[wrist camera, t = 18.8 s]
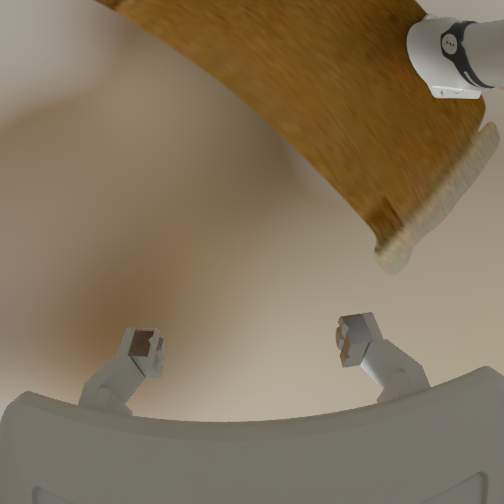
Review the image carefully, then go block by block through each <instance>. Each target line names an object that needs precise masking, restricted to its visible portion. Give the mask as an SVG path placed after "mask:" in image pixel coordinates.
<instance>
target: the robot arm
mask: <svg viewBox="0 0 504 504" xmlns="http://www.w3.org/2000/svg"><path fill="white" fill-rule="evenodd" d="M407 50H408V54H409V58H410V60H411V63H412V65H413V67H414V68H415V70H416V71H417V73H418V74H419V75H420V77H421V78H422V79H423V80H424V81H425V82H426V83H427V85H428V87H429V89H430V91H431V93H432V95H433V96H434V97H435V98H470V99H478V98H479V97H480V95H481V91H485V92H488V91H489V90H490V88H494V87H498V88H500V89H503V90H504V20H500V21H493V22H484V23H477V22H474V21H461V22H460V21H459V20H457V19H456V18H454V17H444V18H438V17H436V16H434V15H433V14H426V15H425V17H424V18H423V20H422V21H420V22H418V23H416V24H414V25H413V26H412V27H411V28H410V30H409V32H408V35H407ZM338 323H339V327H338V328H337V329H336V343H337V347H338V348H339V349H340V350H341V353H340V358H341V362H342V366H343V367H350V366H356V365H360V366H361V367H362V368H363V369H364V370H365V371H366V372H367V373H368V374H369V375H370V376H371V377H372V378H373V379H374V380H375V381H376V382H377V383H378V384H379V385H380V386H381V387H382V388H383V389H384V390H383V391H382V393H381V394H380V396H379V397H378V399H377V404H373V405H368V406H364V407H359V408H355V409H350V410H345V411H339V412H334V413H328V414H321V415H314V416H308V417H299V418H291V419H279V420H266V421H247V422H197V421H178V420H165V419H155V418H146V417H138V416H132V411H131V410H130V409H129V408H128V407H127V406H126V405H125V403H126V402H127V401H128V399H129V398H130V397H131V396H132V394H133V393H134V392H135V391H136V389H137V388H138V387H139V386H140V384H141V383H142V382H143V380H144V379H145V377H152V378H161V377H162V371H163V364H162V361H163V360H164V359H165V356H166V345H165V342H164V340H163V339H162V338H160V332H159V330H158V329H145V328H128V329H127V330H126V331H125V334H124V337H123V340H122V343H121V346H120V349H119V352H118V355H115V356H114V357H113V358H112V359H110V361H108V362H107V363H106V364H105V365H104V366H103V367H102V368H101V369H100V370H99V371H98V372H97V373H95V374H94V375H93V376H92V377H91V378H90V379H89V380H88V381H87V382H86V383H85V384H84V387H83V390H82V394H81V397H80V400H79V404H78V405H75V404H71V403H67V402H63V401H60V400H56V399H53V398H49V397H46V396H43V395H39V394H37V393H33V392H30V391H26V392H24V393H22V394H21V395H20V396H18V397H17V398H16V399H15V400H14V401H12V402H11V403H10V404H9V405H8V406H7V408H6V410H5V411H4V413H3V416H2V418H1V421H0V504H504V376H503V375H501V374H500V373H498V372H497V371H495V370H494V369H492V368H490V367H488V366H483V367H481V368H478V369H476V370H474V371H472V372H469V373H467V374H465V375H462V376H460V377H457V378H455V379H452V380H450V381H448V382H445V383H442V384H439V385H437V386H434V387H431V388H430V385H429V382H428V380H427V377H426V375H425V373H424V370H423V367H422V365H420V364H419V363H418V362H416V361H415V360H414V359H412V358H411V357H410V356H408V355H407V354H406V353H404V352H403V351H402V350H400V349H399V348H398V347H396V346H395V345H394V344H392V343H391V342H390V341H388V340H387V339H385V340H384V339H383V337H382V335H381V332H380V329H379V327H378V325H377V322H376V320H375V318H374V315H373V313H371V312H369V313H363V314H355V315H348V316H341V317H340V318H339V321H338Z"/></svg>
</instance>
